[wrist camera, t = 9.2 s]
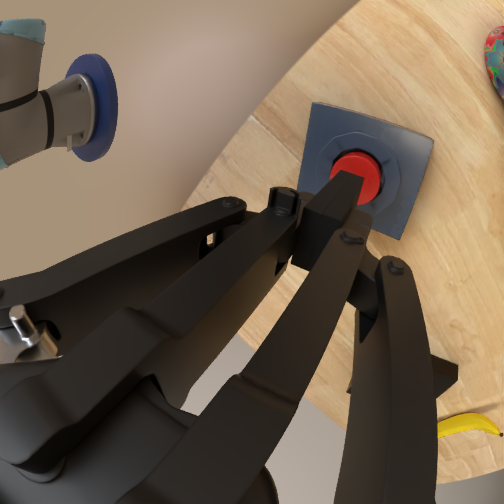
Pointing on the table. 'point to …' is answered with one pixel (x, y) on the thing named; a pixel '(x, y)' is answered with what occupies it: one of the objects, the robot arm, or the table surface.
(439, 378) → the stove panel
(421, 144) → the control block
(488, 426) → the banana
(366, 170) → the stop button
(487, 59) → the mug
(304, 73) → the table surface
